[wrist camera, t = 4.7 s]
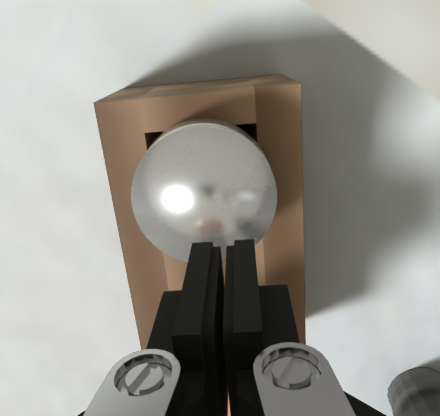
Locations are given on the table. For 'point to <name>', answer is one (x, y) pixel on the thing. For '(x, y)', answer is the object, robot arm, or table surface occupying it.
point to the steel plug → (203, 188)
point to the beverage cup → (416, 393)
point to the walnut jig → (225, 111)
